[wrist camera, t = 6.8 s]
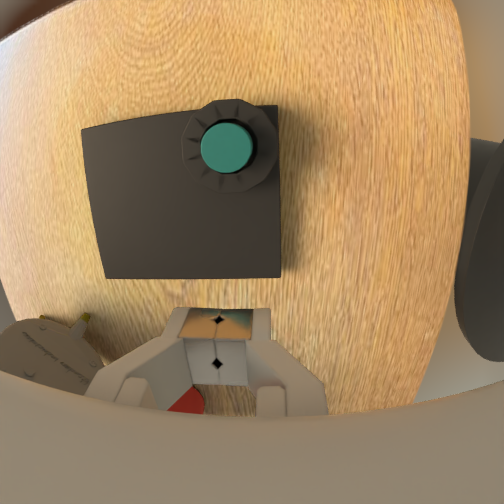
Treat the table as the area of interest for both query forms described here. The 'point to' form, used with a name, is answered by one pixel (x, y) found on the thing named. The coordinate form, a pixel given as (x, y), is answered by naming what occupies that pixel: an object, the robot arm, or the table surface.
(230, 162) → the button
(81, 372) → the alarm clock
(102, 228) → the scale
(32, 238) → the table surface
